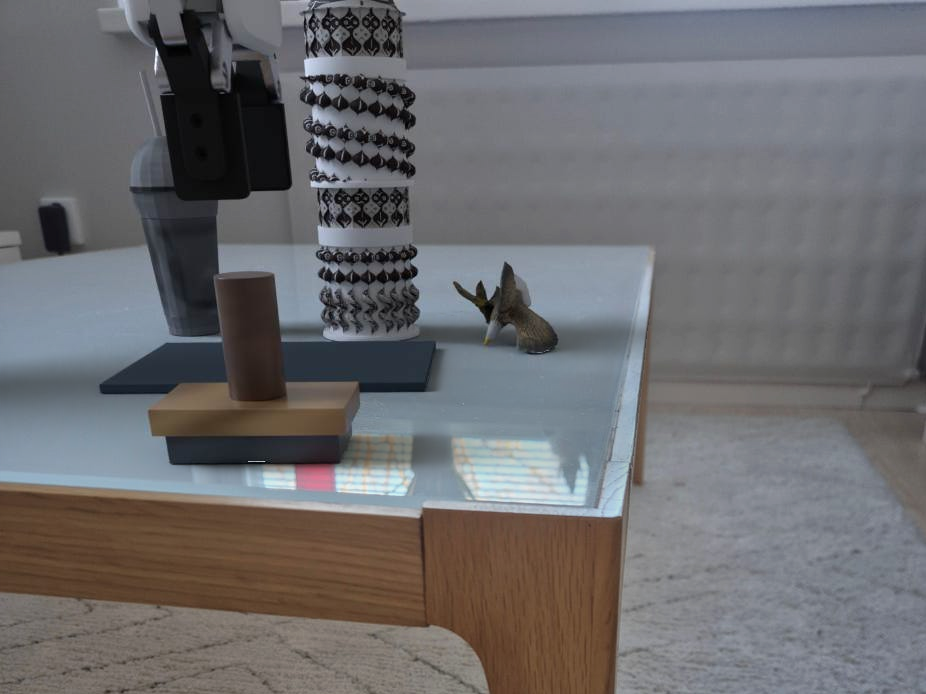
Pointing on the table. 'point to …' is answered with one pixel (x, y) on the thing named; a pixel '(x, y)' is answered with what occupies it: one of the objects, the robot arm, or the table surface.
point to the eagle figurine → (512, 312)
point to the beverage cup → (176, 237)
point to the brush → (254, 393)
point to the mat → (285, 365)
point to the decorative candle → (361, 167)
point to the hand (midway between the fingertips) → (240, 194)
